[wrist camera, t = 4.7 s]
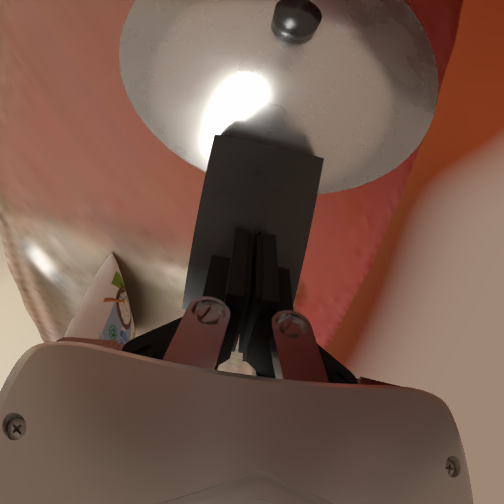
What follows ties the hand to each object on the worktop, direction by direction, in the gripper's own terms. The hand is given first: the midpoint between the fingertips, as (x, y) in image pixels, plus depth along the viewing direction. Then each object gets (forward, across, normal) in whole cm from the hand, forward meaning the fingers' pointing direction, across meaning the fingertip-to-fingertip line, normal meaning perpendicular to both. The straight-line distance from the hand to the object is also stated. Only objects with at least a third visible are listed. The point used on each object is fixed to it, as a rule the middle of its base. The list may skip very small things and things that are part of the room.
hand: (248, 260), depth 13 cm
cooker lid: (+7, 0, -8) cm, 10 cm away
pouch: (+25, +17, +31) cm, 43 cm away
